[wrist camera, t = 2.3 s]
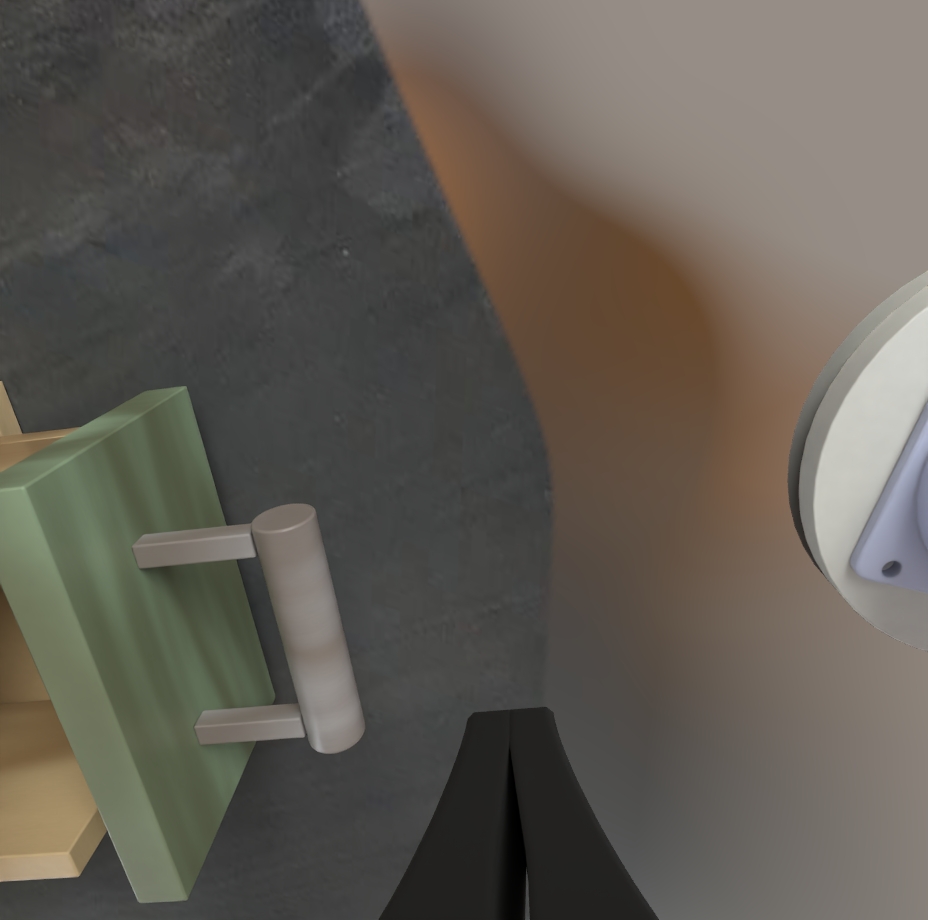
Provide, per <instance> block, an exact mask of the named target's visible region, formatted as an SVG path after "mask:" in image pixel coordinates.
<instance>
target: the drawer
mask: <svg viewBox="0 0 928 920" xmlns="http://www.w3.org/2000/svg"><path fill="white" fill-rule="evenodd" d="M257 554H258V556H259V560H260V563H261V567H262V571H263V574H264V578H265V582H266V585H267V589H268V593H269V596H270V600H271V604H272V607H273V611H274V615H275V618H276V622H277V626H278V629H279V633H280V637H281V640H282V644H283V648H284V651H285V655H286V659H287V662H288V666H289V670H290V673H291V677H292V681H293V684H294V688H295V692H296V695H297V699H298V703H293V704H280V705H272V704H273V702H274V700H275V693H274V690H273V686H272V683H271V679H270V676H269V672H268V669H267V665H266V662H265V658H264V655H263V651H262V648H261V644H260V641H259V637H258V634H257V630H256V627H255V623H254V620H253V616H252V613H251V609H250V606H249V602H248V599H247V595H246V592H245V588H244V585H243V582H242V578H241V575H240V571H239V568H238V564H237V561H236V559H246V558H254V557H256V556H257ZM364 730H365V721H364V716H363V712H362V708H361V703H360V699H359V695H358V691H357V686H356V682H355V678H354V673H353V669H352V665H351V660H350V656H349V652H348V647H347V643H346V639H345V635H344V630H343V626H342V622H341V617H340V613H339V609H338V604H337V600H336V596H335V591H334V587H333V583H332V579H331V574H330V570H329V566H328V561H327V557H326V553H325V548H324V544H323V540H322V535H321V531H320V527H319V523H318V518H317V514H316V510H315V509H314V508H313V507H312V506H311V505H308V504H300V503H297V504H287V505H282V506H278V507H275V508H272V509H269V510H267V511H265V512H263V513H261V514H260V515H258V516H257V517H256V518H254V520H253V521H252V523H250V524H241V525H231V526H226V522H225V519H224V515H223V512H222V508H221V505H220V501H219V498H218V494H217V491H216V487H215V484H214V480H213V477H212V473H211V470H210V466H209V463H208V459H207V456H206V452H205V449H204V445H203V442H202V439H201V435H200V432H199V428H198V425H197V421H196V418H195V414H194V411H193V407H192V404H191V400H190V397H189V393H188V390H187V387H186V386H181V387H173V388H165V389H156V390H148V391H144V392H143V393H141V394H139V395H137V396H136V397H134V398H132V399H130V400H128V401H127V402H125V403H123V404H121V405H120V406H118V407H116V408H114V409H112V410H111V411H109V412H107V413H105V414H103V415H102V416H100V417H98V418H96V419H95V420H93V421H91V422H89V423H87V424H86V425H84V426H82V427H77V428H68V429H60V430H52V431H43V432H35V433H26V434H18V435H9V436H1V437H0V882H1V881H18V880H35V879H52V878H69V877H78V876H80V874H81V873H82V871H83V869H84V868H85V866H86V865H87V863H88V861H89V860H90V858H91V856H92V855H93V853H94V851H95V850H96V848H97V846H98V845H99V843H100V841H101V840H102V838H103V837H104V835H105V833H106V832H107V831H108V833H109V836H110V838H111V840H112V842H113V845H114V847H115V849H116V852H117V854H118V856H119V859H120V861H121V863H122V865H123V868H124V870H125V872H126V875H127V877H128V879H129V882H130V884H131V886H132V888H133V891H134V893H135V895H136V898H137V900H138V902H139V903H153V902H171V901H186V900H187V899H188V898H189V895H190V893H191V891H192V889H193V886H194V884H195V882H196V879H197V877H198V875H199V872H200V870H201V868H202V866H203V863H204V861H205V859H206V856H207V854H208V852H209V849H210V847H211V845H212V842H213V840H214V838H215V836H216V833H217V831H218V829H219V826H220V824H221V822H222V819H223V817H224V815H225V812H226V810H227V808H228V806H229V803H230V801H231V799H232V796H233V794H234V792H235V789H236V787H237V785H238V783H239V780H240V778H241V776H242V773H243V771H244V769H245V766H246V764H247V762H248V759H249V757H250V755H251V753H252V750H253V748H254V746H255V743H256V741H262V740H275V739H288V738H302V737H305V735H306V732H307V736H308V739H309V743H310V745H311V746H312V748H313V749H315V750H316V751H318V752H320V753H324V754H334V753H339V752H342V751H345V750H347V749H349V748H351V747H352V746H354V745H355V744H356V743H357V742H358V741H359V740H360V739H361V737H362V736H363V734H364Z"/></svg>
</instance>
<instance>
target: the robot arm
mask: <svg viewBox="0 0 928 920" xmlns="http://www.w3.org/2000/svg"><path fill="white" fill-rule="evenodd" d="M890 561H894V563H893V565H892V566H891V567H890V568H888V569H886V570H882V568H883V566H884V565H885V564H886V563H888V562H890ZM850 564H851V568H852V569H853V570H854V571H855V572H856V573H857V574H858V575H859V576H860V577H861V578H863V579H866V580H870V581H875V582H879V583H884V584H888V585H893V586H897V587H902V588H907V589H911V590H916V591H920V592H925V593H928V402H927V404H926V406H925V408H924V410H923V412H922V414H921V416H920V418H919V420H918V422H917V424H916V426H915V428H914V430H913V432H912V434H911V436H910V438H909V440H908V442H907V444H906V446H905V448H904V450H903V452H902V454H901V456H900V458H899V460H898V462H897V464H896V466H895V468H894V470H893V472H892V474H891V476H890V478H889V481H888V483H887V485H886V487H885V489H884V491H883V493H882V495H881V497H880V499H879V501H878V503H877V505H876V507H875V509H874V511H873V513H872V515H871V517H870V519H869V521H868V523H867V525H866V527H865V529H864V531H863V533H862V535H861V537H860V539H859V541H858V543H857V545H856V547H855V549H854V551H853V553H852V555H851V559H850ZM526 867H527V874H528V881H529V907H530V920H659V919H658V917H657V916H656V915H655V913H654V912H653V910H652V909H651V907H650V906H649V904H648V903H647V901H646V900H645V899H644V897H643V896H642V894H641V892H640V891H639V889H638V888H637V886H636V885H635V883H634V882H633V880H632V879H631V877H630V875H629V874H628V872H627V870H626V869H625V867H624V865H623V864H622V862H621V860H620V859H619V857H618V855H617V854H616V852H615V850H614V849H613V847H612V846H611V844H610V842H609V840H608V838H607V837H606V835H605V833H604V831H603V829H602V828H601V826H600V824H599V822H598V820H597V819H596V817H595V815H594V813H593V811H592V809H591V807H590V805H589V803H588V801H587V799H586V797H585V795H584V793H583V791H582V789H581V787H580V785H579V783H578V781H577V779H576V776H575V774H574V772H573V770H572V767H571V765H570V763H569V760H568V758H567V755H566V753H565V750H564V748H563V745H562V743H561V740H560V737H559V734H558V731H557V727H556V723H555V719H554V713H553V712H552V711H551V710H550V709H548V708H547V707H540V708H527V709H514V710H501V711H488V712H475V713H473V714H472V715H471V716H470V717H469V718H468V721H467V725H466V729H465V733H464V736H463V740H462V743H461V746H460V749H459V752H458V755H457V758H456V761H455V763H454V766H453V769H452V772H451V774H450V777H449V779H448V782H447V784H446V787H445V789H444V791H443V794H442V796H441V798H440V801H439V803H438V806H437V808H436V810H435V813H434V815H433V817H432V819H431V822H430V824H429V826H428V828H427V830H426V832H425V834H424V836H423V838H422V840H421V842H420V844H419V846H418V848H417V850H416V852H415V854H414V856H413V858H412V860H411V862H410V864H409V866H408V868H407V870H406V872H405V874H404V876H403V878H402V880H401V881H400V883H399V885H398V887H397V889H396V891H395V892H394V894H393V896H392V898H391V899H390V901H389V903H388V905H387V906H386V908H385V910H384V911H383V913H382V915H381V916H380V918H379V920H525V898H526Z"/></svg>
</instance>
